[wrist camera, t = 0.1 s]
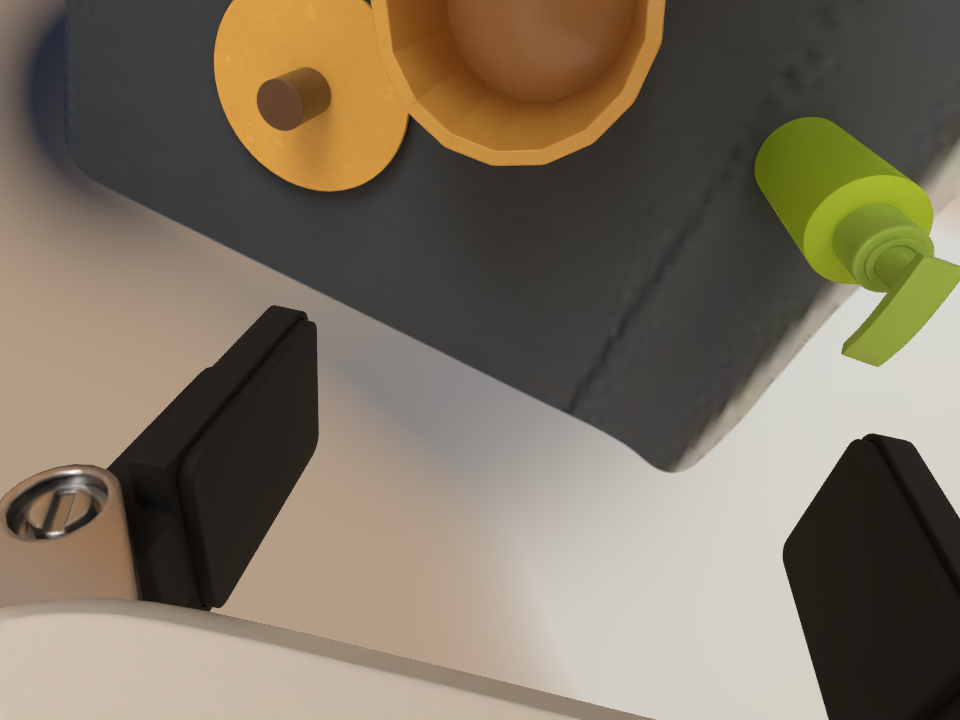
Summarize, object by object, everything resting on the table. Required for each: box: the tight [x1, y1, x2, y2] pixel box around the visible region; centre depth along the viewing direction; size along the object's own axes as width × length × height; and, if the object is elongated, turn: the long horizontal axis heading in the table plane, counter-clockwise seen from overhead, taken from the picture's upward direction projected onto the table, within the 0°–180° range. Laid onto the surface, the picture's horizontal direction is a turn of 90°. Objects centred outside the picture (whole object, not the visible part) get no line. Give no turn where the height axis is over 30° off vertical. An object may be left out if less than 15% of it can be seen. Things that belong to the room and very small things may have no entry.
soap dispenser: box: [754, 117, 960, 367], centre depth 34 cm, size 6×7×20 cm
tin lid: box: [214, 0, 410, 191], centre depth 42 cm, size 15×15×6 cm
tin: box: [371, 0, 666, 166], centre depth 34 cm, size 14×14×14 cm
